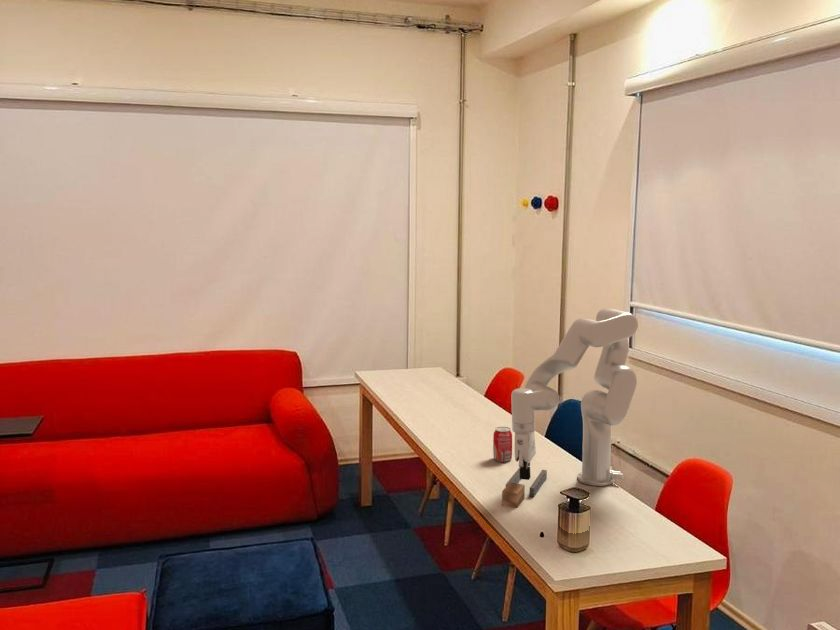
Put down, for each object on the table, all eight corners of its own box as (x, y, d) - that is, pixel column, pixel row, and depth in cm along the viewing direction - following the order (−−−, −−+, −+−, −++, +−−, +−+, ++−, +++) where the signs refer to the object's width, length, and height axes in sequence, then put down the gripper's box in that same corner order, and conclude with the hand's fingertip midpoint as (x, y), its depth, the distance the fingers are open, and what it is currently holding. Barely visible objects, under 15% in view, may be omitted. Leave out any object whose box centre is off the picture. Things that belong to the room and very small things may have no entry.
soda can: (500, 455, 287) (500, 425, 285) (515, 459, 282) (516, 428, 280) (489, 460, 281) (489, 429, 279) (505, 464, 277) (505, 433, 275)
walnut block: (524, 499, 245) (524, 484, 244) (517, 508, 238) (517, 493, 237) (509, 496, 247) (509, 482, 246) (502, 505, 240) (502, 491, 239)
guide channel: (546, 478, 262) (546, 470, 262) (533, 497, 246) (534, 488, 245) (519, 474, 266) (520, 466, 266) (505, 493, 250) (505, 484, 249)
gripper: (529, 434, 239) (530, 488, 242) (540, 419, 252) (541, 471, 256) (506, 432, 242) (508, 486, 245) (518, 418, 255) (520, 469, 258)
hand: (525, 478), depth 250 cm, fingers closed
